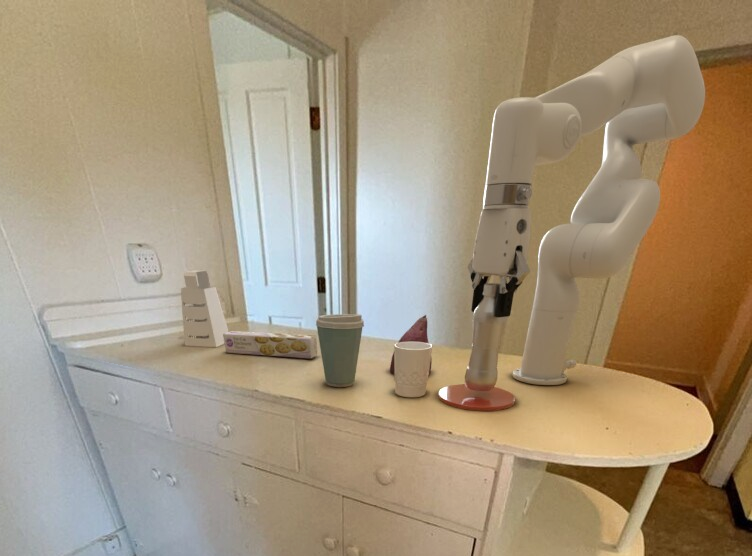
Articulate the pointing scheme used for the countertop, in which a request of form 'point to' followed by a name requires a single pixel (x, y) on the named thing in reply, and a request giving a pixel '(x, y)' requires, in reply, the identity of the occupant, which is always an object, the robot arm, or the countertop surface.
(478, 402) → the plate
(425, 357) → the white cup
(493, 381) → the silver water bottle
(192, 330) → the grater
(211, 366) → the countertop surface
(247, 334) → the box
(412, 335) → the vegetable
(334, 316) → the disposable coffee cup
